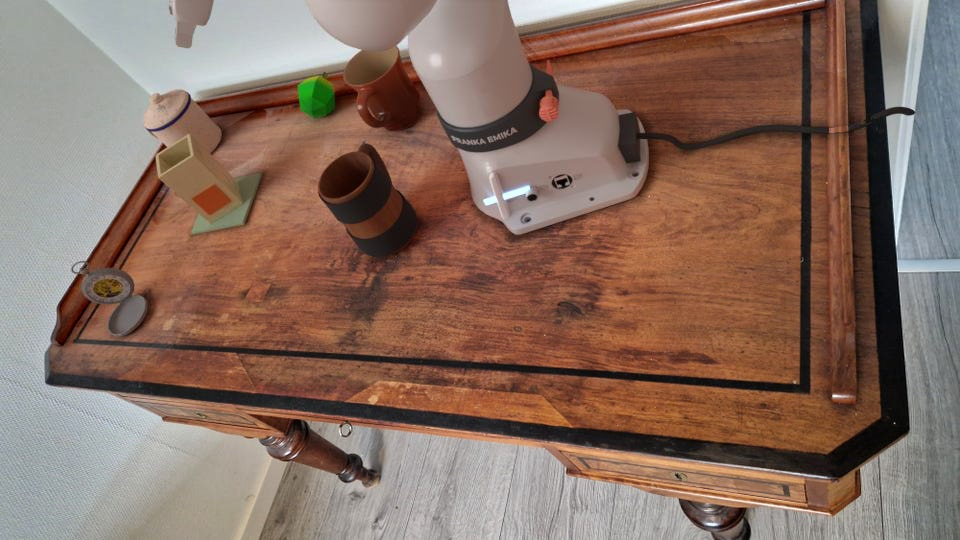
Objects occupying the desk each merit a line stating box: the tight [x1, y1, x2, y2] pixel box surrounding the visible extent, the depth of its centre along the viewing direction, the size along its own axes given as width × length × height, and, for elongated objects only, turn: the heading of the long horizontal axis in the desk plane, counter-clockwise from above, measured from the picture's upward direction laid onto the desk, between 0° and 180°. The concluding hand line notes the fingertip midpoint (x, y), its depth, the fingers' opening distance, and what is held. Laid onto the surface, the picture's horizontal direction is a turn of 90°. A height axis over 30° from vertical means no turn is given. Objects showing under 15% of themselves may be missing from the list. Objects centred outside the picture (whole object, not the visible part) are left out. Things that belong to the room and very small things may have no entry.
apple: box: [297, 71, 336, 119], centre depth 105 cm, size 7×6×9 cm
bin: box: [155, 133, 243, 224], centre depth 98 cm, size 6×6×11 cm
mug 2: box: [317, 142, 419, 258], centre depth 82 cm, size 9×12×12 cm
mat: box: [190, 172, 263, 235], centre depth 102 cm, size 10×10×1 cm
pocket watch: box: [70, 260, 149, 337], centre depth 92 cm, size 8×8×10 cm
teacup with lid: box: [142, 88, 223, 154], centre depth 111 cm, size 12×9×12 cm
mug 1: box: [342, 45, 424, 132], centre depth 93 cm, size 12×9×10 cm
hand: (179, 29), depth 83 cm, fingers open, 8 cm apart
